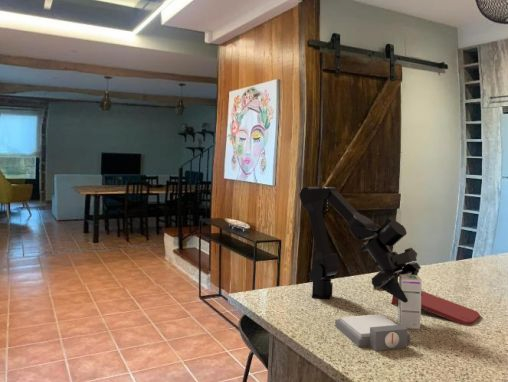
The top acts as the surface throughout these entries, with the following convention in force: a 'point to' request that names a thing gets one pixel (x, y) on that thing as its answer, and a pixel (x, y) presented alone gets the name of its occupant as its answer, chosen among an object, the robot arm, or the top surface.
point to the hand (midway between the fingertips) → (414, 299)
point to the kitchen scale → (373, 332)
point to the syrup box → (410, 301)
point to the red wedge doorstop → (446, 309)
